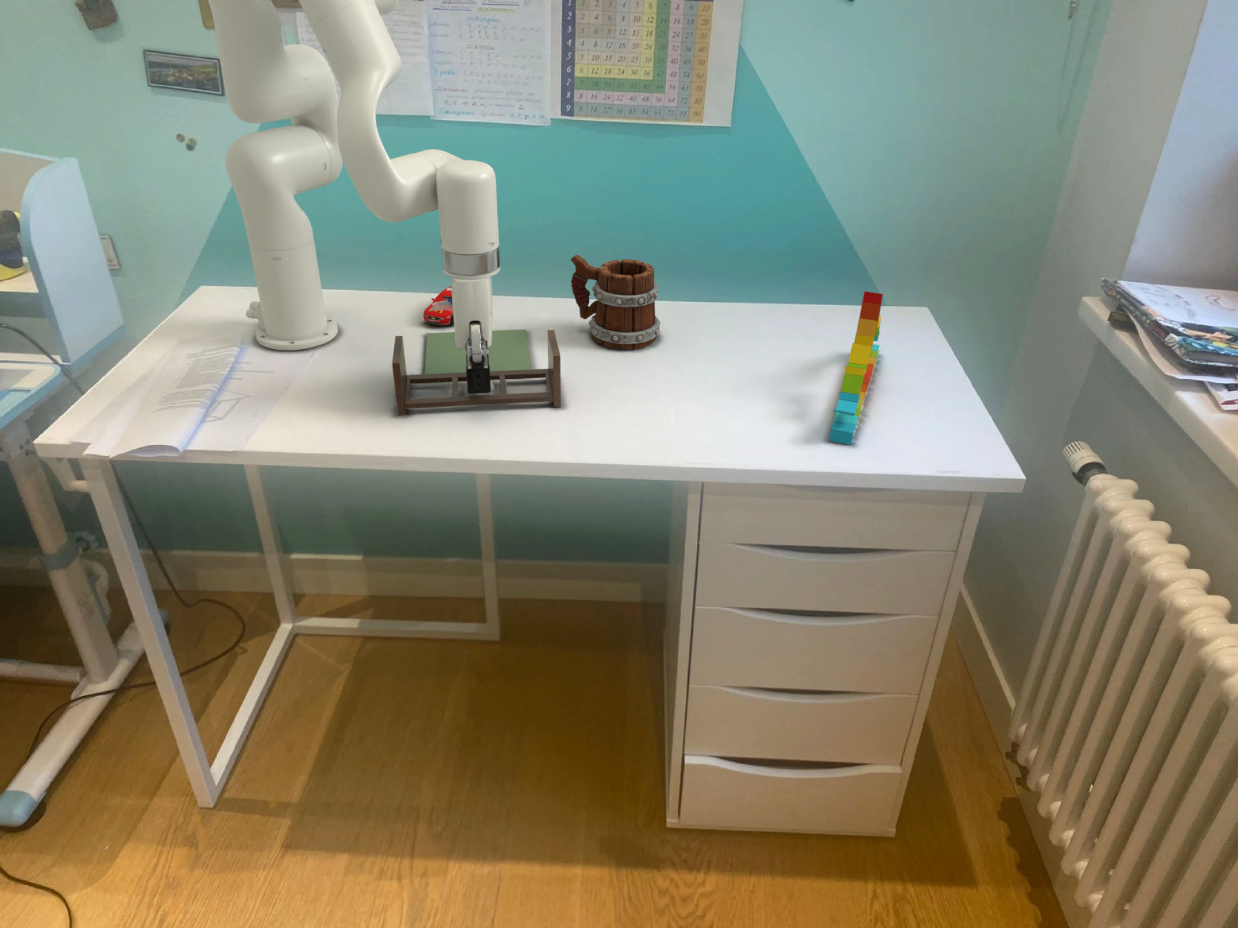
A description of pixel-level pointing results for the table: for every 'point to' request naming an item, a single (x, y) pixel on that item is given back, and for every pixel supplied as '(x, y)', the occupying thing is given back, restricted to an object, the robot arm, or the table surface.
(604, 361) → the table surface
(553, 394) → the rack
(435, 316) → the race car
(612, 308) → the mug
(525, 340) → the mat
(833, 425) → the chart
